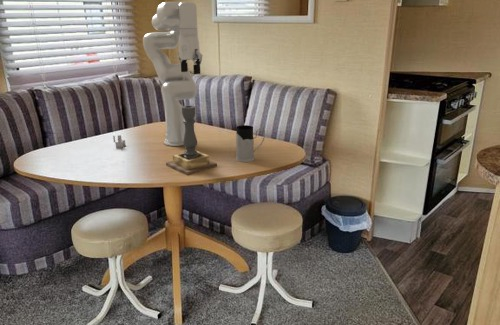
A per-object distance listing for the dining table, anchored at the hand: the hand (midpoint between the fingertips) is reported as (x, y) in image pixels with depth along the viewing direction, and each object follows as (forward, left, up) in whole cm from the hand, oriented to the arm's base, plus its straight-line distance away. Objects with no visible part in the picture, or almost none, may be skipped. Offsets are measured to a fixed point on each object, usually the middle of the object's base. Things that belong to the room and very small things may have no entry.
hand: (190, 72), depth 185 cm
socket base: (+12, -10, -38) cm, 41 cm away
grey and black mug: (+22, +16, -38) cm, 47 cm away
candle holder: (+12, -10, -37) cm, 40 cm away
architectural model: (-40, -23, -39) cm, 60 cm away
